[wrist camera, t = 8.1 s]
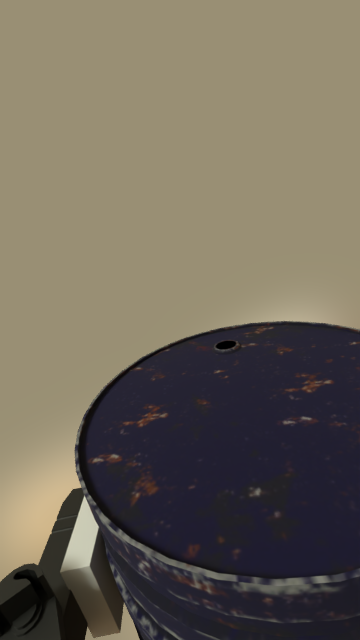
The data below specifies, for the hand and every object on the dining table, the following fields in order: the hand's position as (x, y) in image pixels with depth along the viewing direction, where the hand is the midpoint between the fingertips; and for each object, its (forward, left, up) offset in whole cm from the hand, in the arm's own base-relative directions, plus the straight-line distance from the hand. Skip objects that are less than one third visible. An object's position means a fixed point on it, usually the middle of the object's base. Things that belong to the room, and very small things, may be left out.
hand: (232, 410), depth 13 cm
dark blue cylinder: (0, +4, -11) cm, 12 cm away
